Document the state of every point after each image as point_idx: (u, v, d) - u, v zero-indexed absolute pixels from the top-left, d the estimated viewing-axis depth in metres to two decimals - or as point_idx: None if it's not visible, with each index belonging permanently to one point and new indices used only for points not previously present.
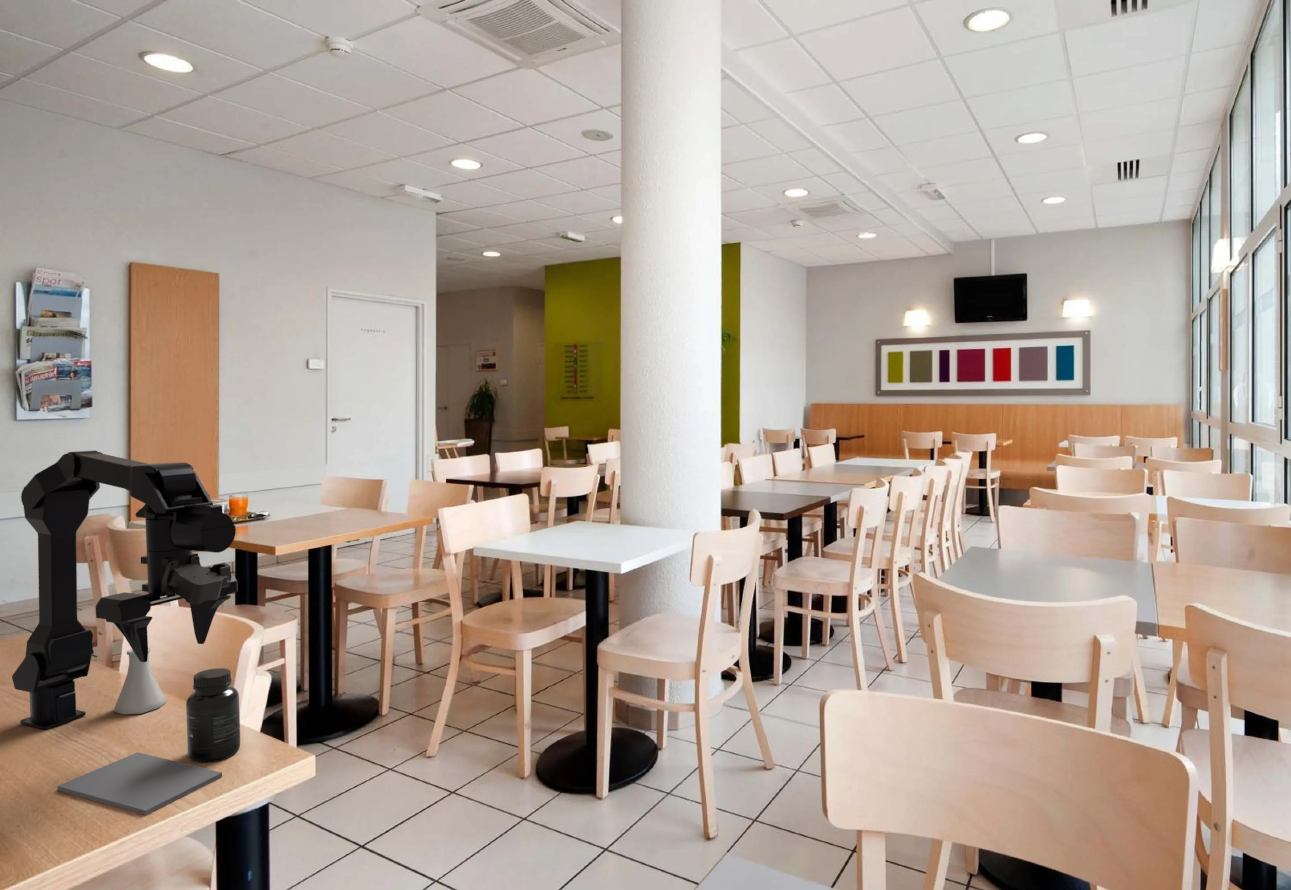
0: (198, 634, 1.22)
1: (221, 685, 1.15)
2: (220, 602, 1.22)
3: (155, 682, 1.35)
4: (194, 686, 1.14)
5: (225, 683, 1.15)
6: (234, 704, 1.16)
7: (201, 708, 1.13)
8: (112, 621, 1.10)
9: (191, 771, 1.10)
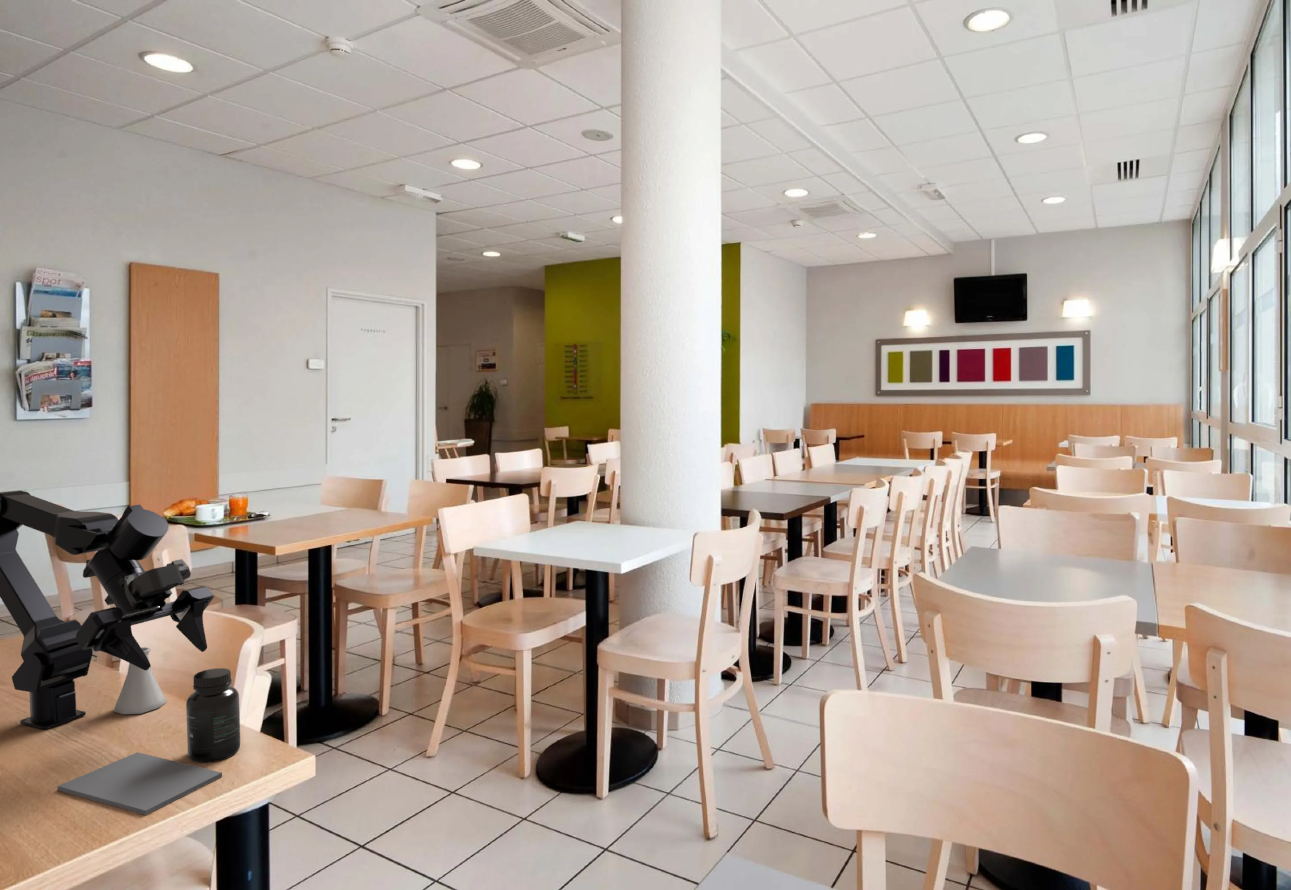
0: (198, 643, 1.23)
1: (221, 685, 1.15)
2: (200, 606, 1.25)
3: (155, 682, 1.35)
4: (194, 686, 1.14)
5: (225, 683, 1.16)
6: (234, 704, 1.16)
7: (201, 708, 1.13)
8: (97, 644, 1.13)
9: (191, 771, 1.10)
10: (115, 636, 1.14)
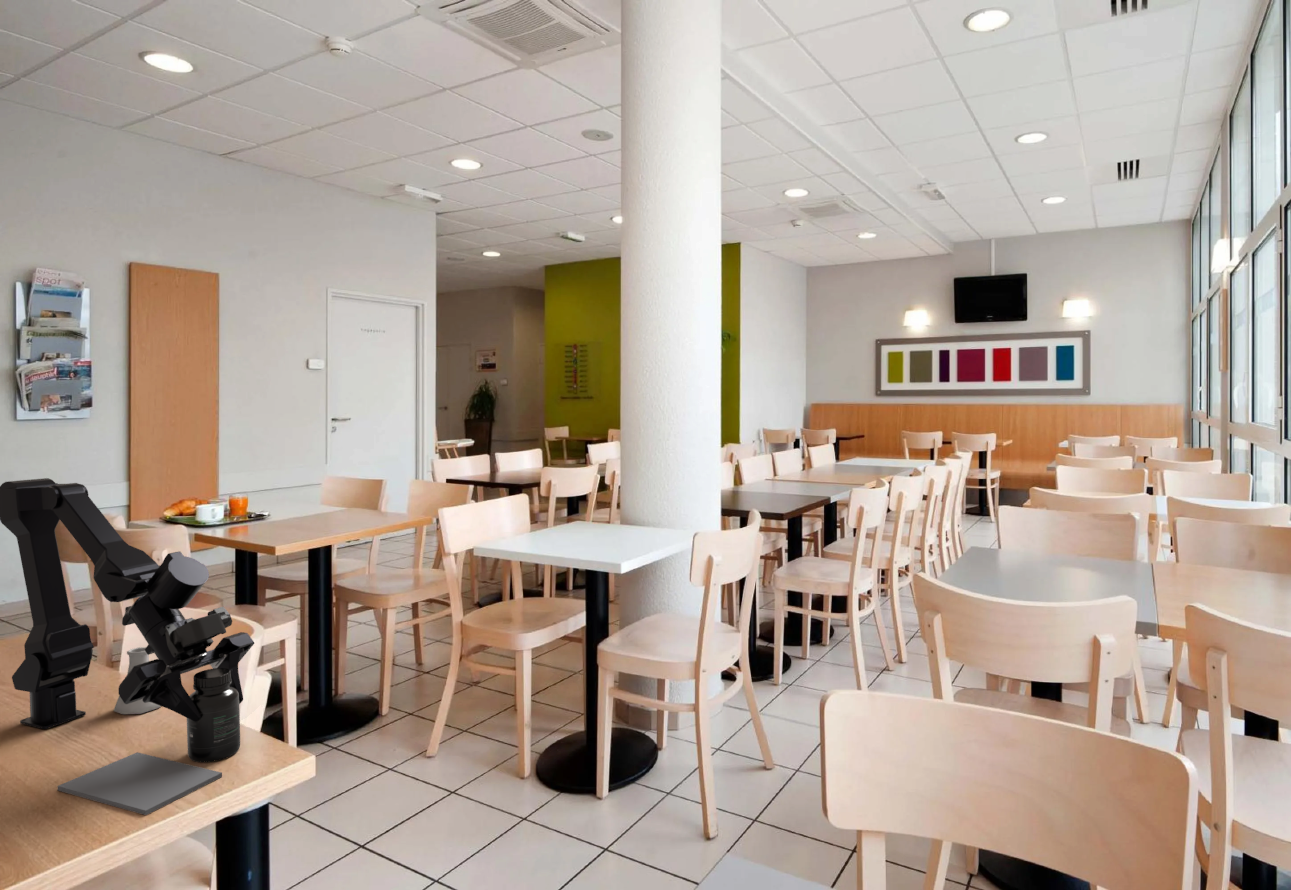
0: None
1: (221, 685, 1.15)
2: (236, 656, 1.21)
3: None
4: (194, 686, 1.14)
5: (225, 683, 1.15)
6: (234, 704, 1.16)
7: (201, 708, 1.13)
8: (147, 695, 1.11)
9: (191, 771, 1.10)
10: (165, 687, 1.13)
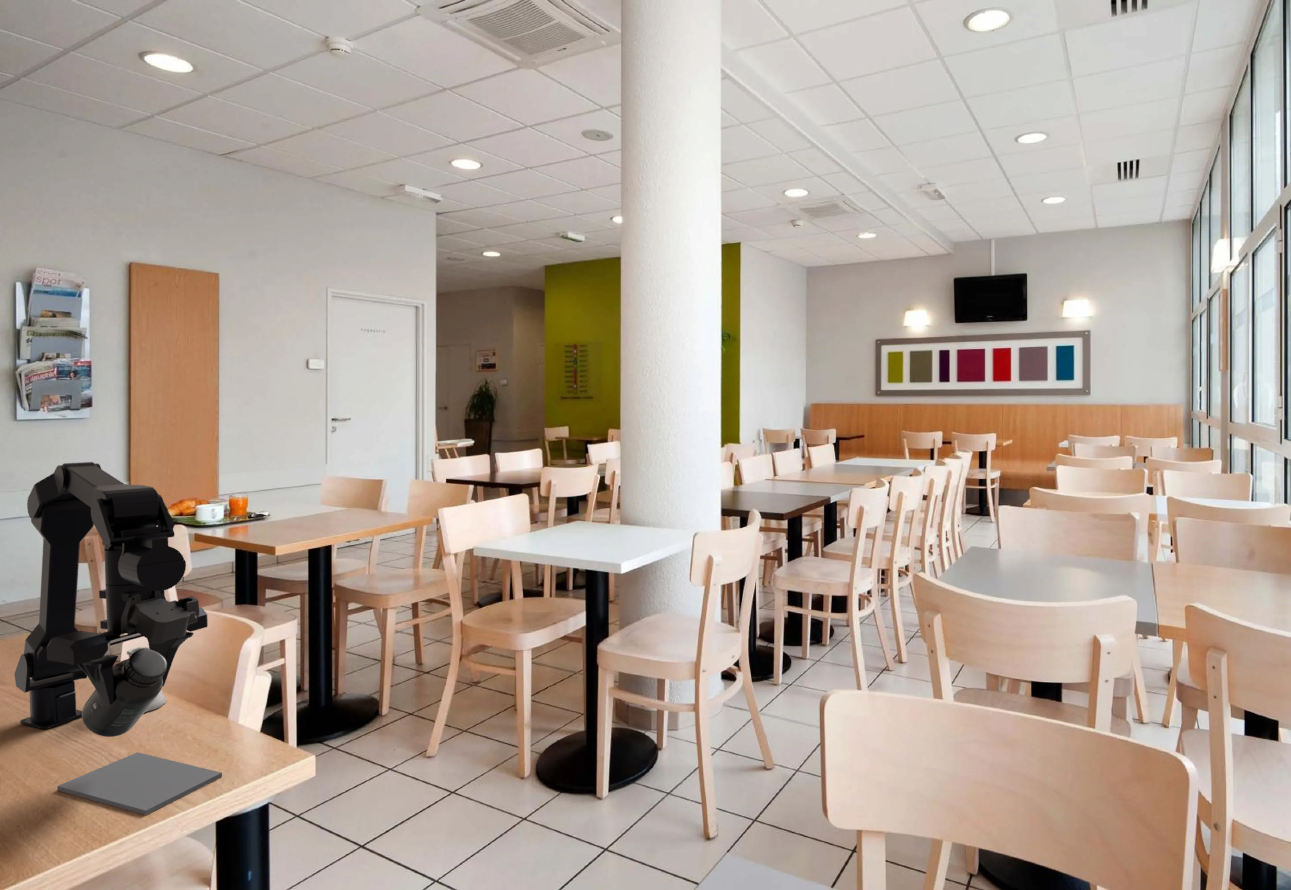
0: None
1: (149, 684, 1.05)
2: (181, 640, 1.11)
3: None
4: (124, 669, 1.04)
5: (154, 682, 1.06)
6: (151, 700, 1.07)
7: (118, 697, 1.04)
8: None
9: (191, 771, 1.10)
10: None
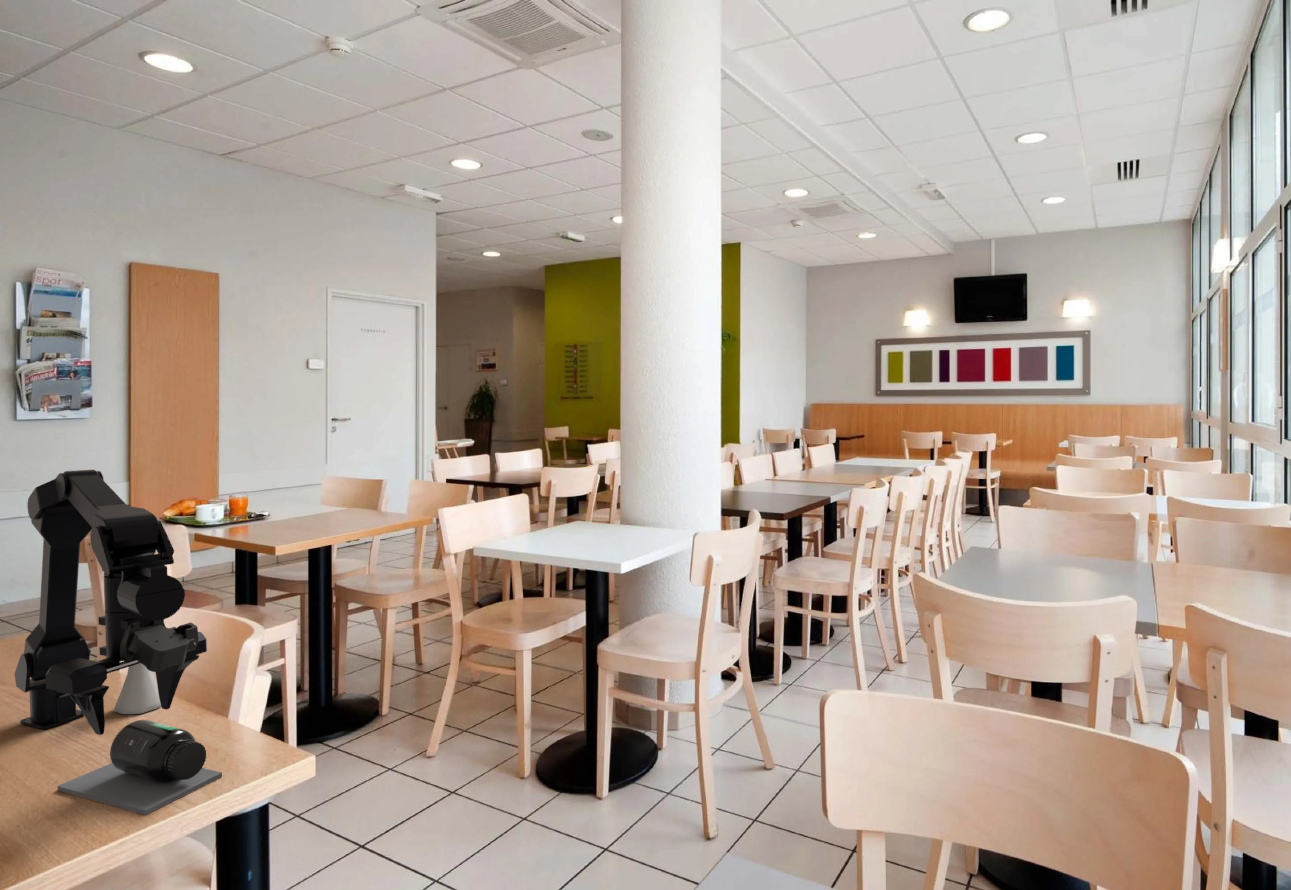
0: (163, 698, 1.11)
1: (171, 777, 1.04)
2: (187, 663, 1.12)
3: (155, 682, 1.35)
4: (172, 749, 1.04)
5: None
6: None
7: (145, 763, 1.04)
8: (64, 691, 1.00)
9: None
10: None
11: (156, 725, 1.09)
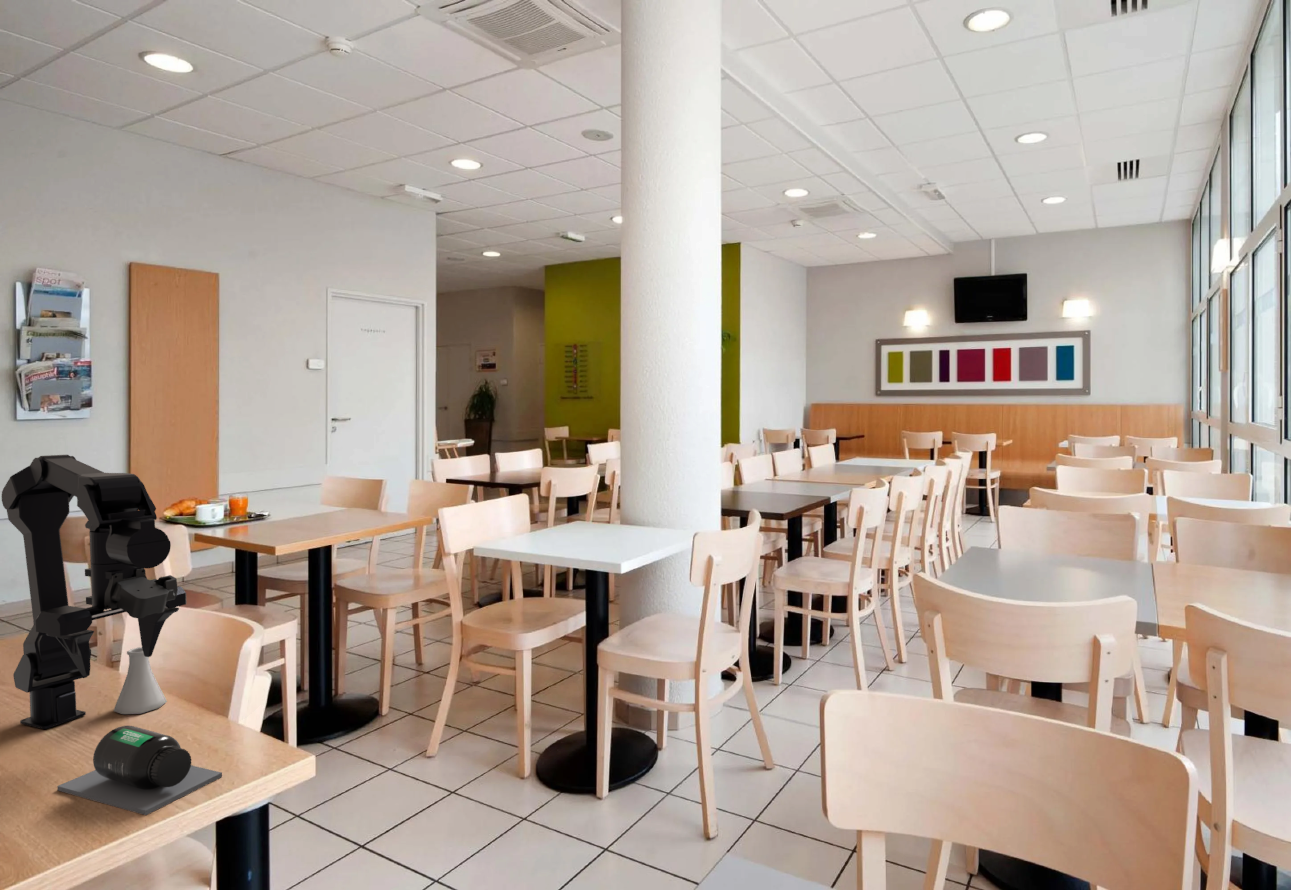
0: (145, 647, 1.20)
1: None
2: (168, 615, 1.21)
3: (155, 682, 1.35)
4: (150, 768, 1.02)
5: None
6: None
7: (133, 784, 1.02)
8: (53, 635, 1.09)
9: (191, 771, 1.10)
10: None
11: (125, 740, 1.05)
